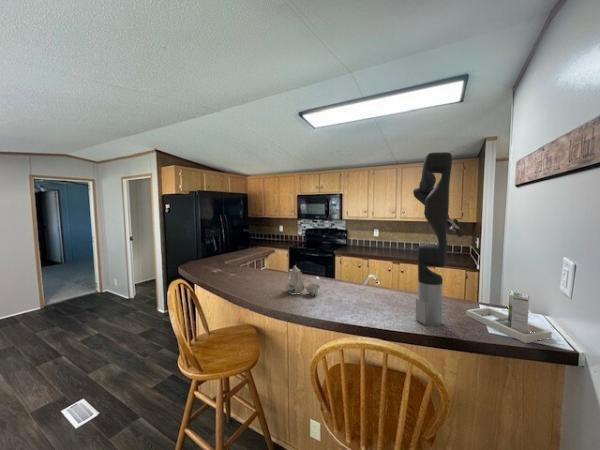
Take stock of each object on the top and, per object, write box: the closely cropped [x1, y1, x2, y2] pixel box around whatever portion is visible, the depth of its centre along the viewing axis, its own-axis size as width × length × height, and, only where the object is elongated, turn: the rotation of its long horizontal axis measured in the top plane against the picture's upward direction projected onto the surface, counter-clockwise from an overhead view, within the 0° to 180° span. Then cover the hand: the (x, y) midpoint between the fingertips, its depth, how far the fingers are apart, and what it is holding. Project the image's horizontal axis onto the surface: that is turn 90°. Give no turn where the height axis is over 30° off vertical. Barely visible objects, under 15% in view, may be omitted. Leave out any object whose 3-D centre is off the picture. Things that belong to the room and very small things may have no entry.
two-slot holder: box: [465, 306, 553, 344], centre depth 103 cm, size 12×24×3 cm, turn 13°
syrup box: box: [507, 291, 530, 334], centre depth 98 cm, size 6×6×14 cm
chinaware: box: [285, 265, 321, 296], centre depth 151 cm, size 28×17×17 cm, turn 33°
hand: (453, 236), depth 122 cm, fingers open, 8 cm apart
